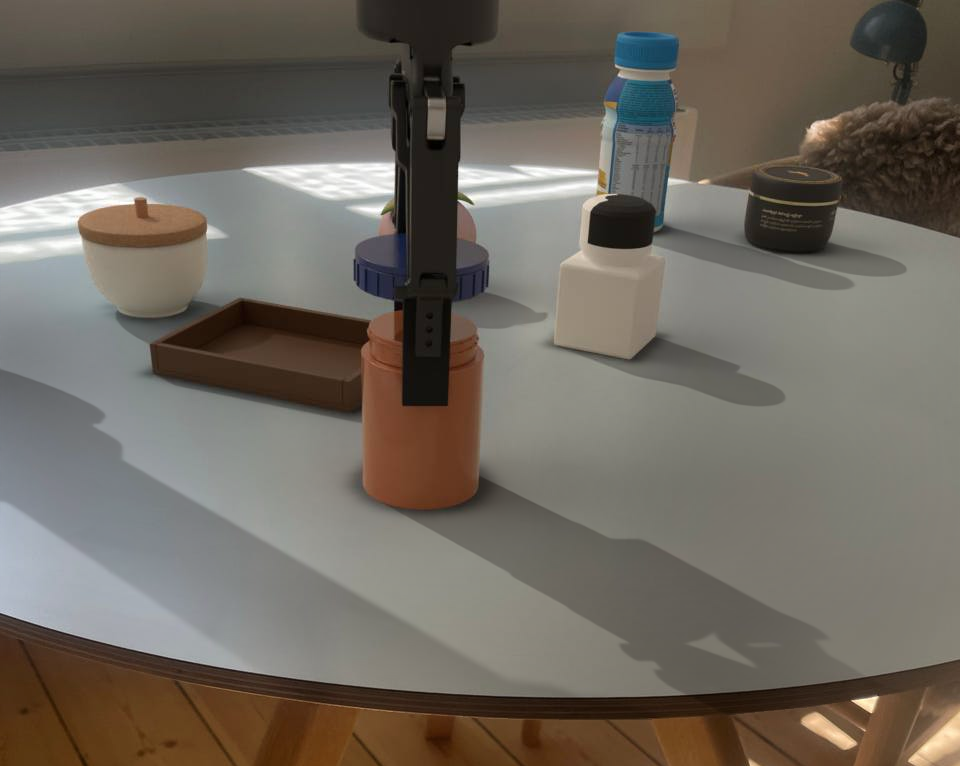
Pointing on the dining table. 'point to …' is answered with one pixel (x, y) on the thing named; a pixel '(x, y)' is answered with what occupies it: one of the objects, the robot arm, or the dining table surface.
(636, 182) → the beverage bottle
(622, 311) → the medicine bottle
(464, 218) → the decorative fruit
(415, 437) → the honey jar
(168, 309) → the trinket box
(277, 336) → the tray
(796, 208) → the jar
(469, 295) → the lid
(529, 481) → the dining table surface
